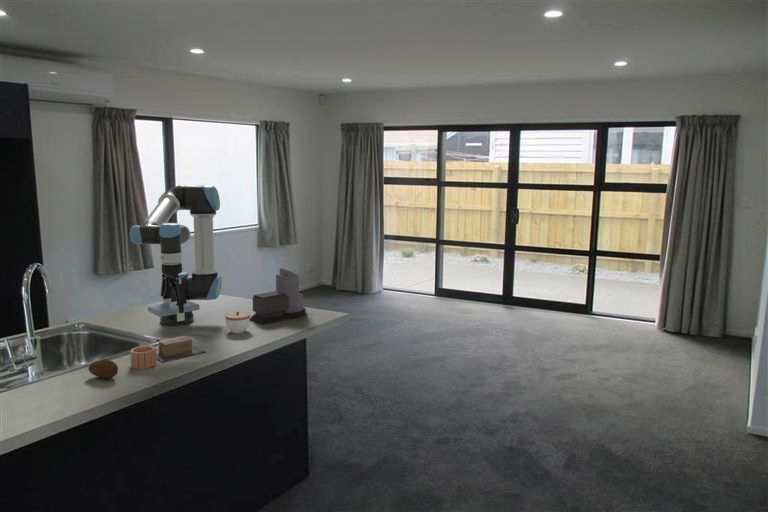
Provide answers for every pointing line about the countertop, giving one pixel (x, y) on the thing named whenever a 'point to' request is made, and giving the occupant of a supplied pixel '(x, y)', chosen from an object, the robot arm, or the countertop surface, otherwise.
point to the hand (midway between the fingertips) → (174, 317)
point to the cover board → (171, 308)
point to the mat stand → (176, 349)
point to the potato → (104, 368)
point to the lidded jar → (237, 321)
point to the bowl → (143, 357)
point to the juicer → (279, 301)
